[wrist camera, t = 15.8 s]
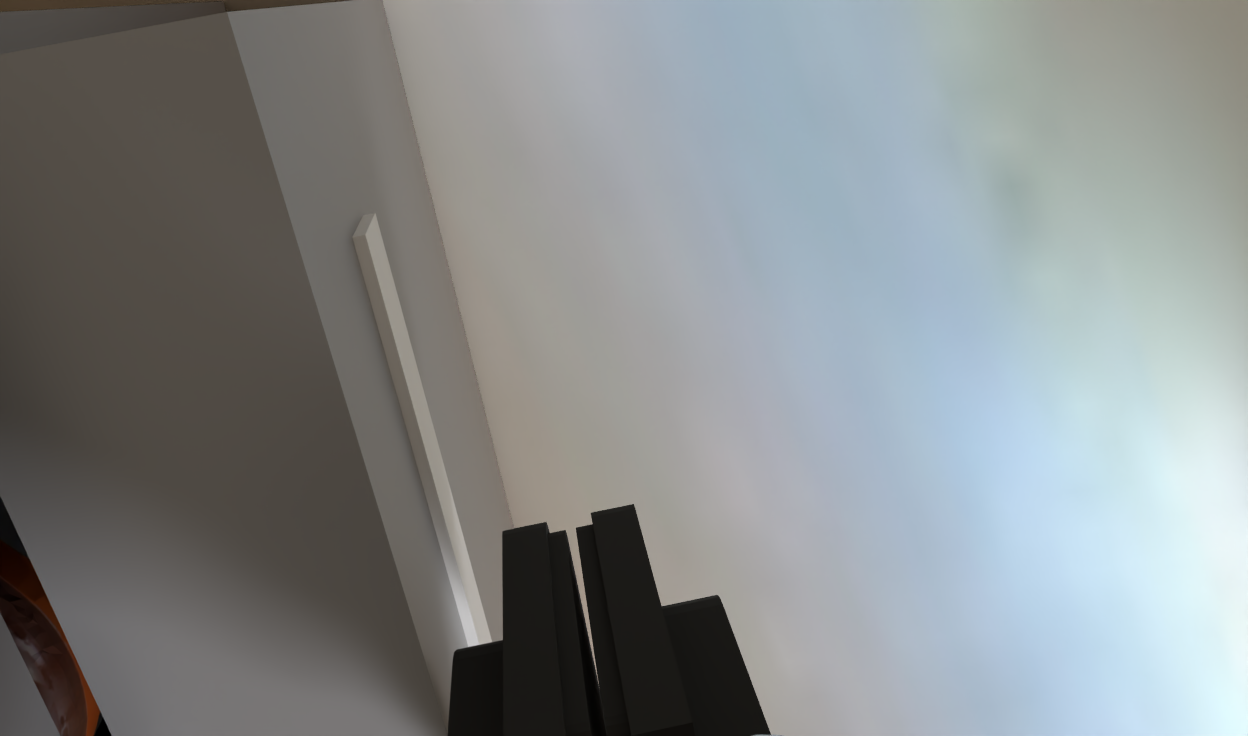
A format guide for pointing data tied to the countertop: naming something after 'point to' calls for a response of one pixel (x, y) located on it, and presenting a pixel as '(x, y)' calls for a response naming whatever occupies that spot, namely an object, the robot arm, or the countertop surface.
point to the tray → (241, 379)
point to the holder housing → (3, 688)
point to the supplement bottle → (42, 639)
